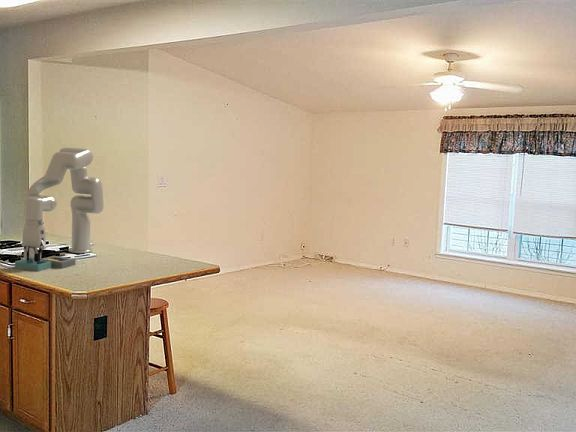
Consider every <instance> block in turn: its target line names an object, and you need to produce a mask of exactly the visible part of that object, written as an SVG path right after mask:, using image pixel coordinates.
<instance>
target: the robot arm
mask: <svg viewBox="0 0 576 432" xmlns="http://www.w3.org/2000/svg"><path fill="white" fill-rule="evenodd" d="M93 159H94V155H93V152H92V151H91V150H90V149H87V148H76V147H62V148H60V149H59V150H58V151H57V152H55V153H54V154H53V155H52V158H51V160H50V161H49V164H48V167H47V170H46V171H45V174H44V175H43V176H42V177H41V178H39V179H38V180H36V181H35V182H33V184H32V185H30V187H29V189H28V191H27V194H26V196H25V200H24V206H25V207H24V209H25V210H24V211H25V214H24V215H25V216H24V218H25V219H24V220H25V222H24V223H25V225H24V226H23V230H22V241H21V244H20V246H22V247H23V250H24V249H25V251H26V252H27V261H29V247H35V251H36V253H35V262H37V261H40V253H41V254H42V252H43V251H44V250H45V249H47V246H46V245H47V244H46V243H47V239H46V230H45V226H44V221H43V218H44V215H43V213H44V212H52V211H54V210H55V209H56V208H57V200H56V198H55V197H53V196H51V195H43V194H42V195H41V194H40V193H42V192H43V191H45V190H47V189H49V188H53V187H56V186H59V185H60V184H62V182H63V180H64V177H65V176H66V172H67V170H69V171H70V180H71V188H72V189H71V190H72V191H73V193H75V194H77V195H74V196H73V197H71V199H70V209H71V247H70V248H68V252H69V253H73V254H87V253H88V254H89V253H91V252H93V248H92V247H93V246H95V243H94V242H91V239H90V238H91V218H90V216H89V215H88V214H101V212H102V211H103V210H104V193H103V185H102V182H101V180H100V179H99V178H97V177H92V176H89V175H88V169H87V167H88V166H90V165H91V163H92V162H93ZM38 248H39V250H38Z"/></svg>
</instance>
